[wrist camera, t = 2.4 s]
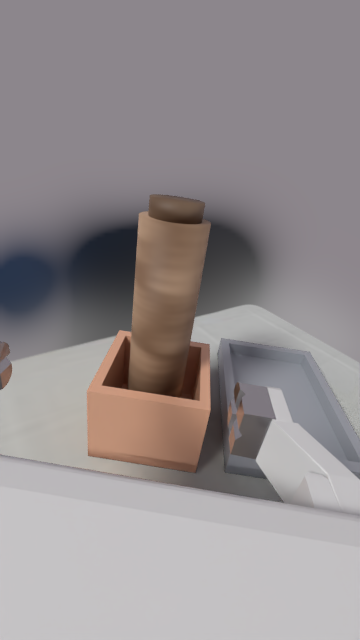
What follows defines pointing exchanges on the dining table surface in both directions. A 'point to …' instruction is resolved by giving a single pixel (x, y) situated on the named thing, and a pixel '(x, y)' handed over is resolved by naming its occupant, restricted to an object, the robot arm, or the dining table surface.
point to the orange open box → (148, 412)
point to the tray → (286, 399)
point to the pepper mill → (166, 292)
